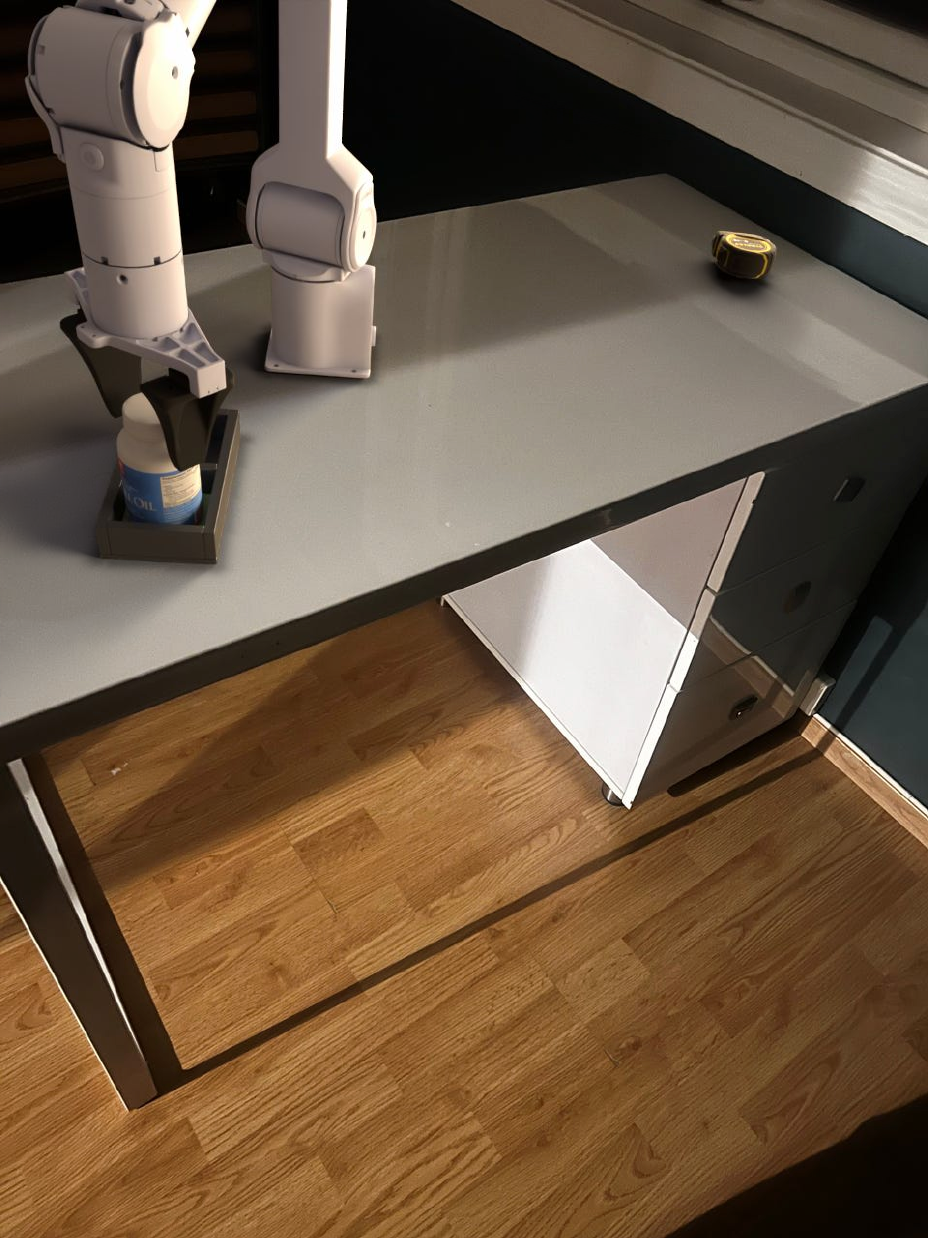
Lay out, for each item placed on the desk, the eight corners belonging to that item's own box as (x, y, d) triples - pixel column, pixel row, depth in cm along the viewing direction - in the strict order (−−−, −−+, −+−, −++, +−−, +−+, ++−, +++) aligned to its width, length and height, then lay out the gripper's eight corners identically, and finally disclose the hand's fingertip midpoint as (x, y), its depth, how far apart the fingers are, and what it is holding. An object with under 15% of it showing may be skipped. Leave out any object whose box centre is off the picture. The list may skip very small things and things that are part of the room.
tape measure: (763, 262, 117) (773, 232, 115) (772, 289, 112) (783, 258, 110) (707, 255, 117) (716, 224, 114) (714, 281, 112) (724, 249, 110)
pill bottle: (113, 513, 72) (93, 399, 65) (177, 486, 75) (164, 375, 68) (155, 552, 70) (138, 439, 63) (219, 523, 72) (209, 412, 66)
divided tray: (241, 439, 81) (239, 409, 79) (217, 564, 70) (214, 533, 68) (140, 432, 80) (136, 402, 78) (100, 558, 69) (94, 527, 67)
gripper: (3, 214, 58) (46, 408, 68) (142, 316, 52) (168, 513, 62) (109, 190, 62) (135, 376, 72) (250, 281, 56) (258, 471, 66)
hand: (156, 437), depth 67 cm, fingers open, 7 cm apart
